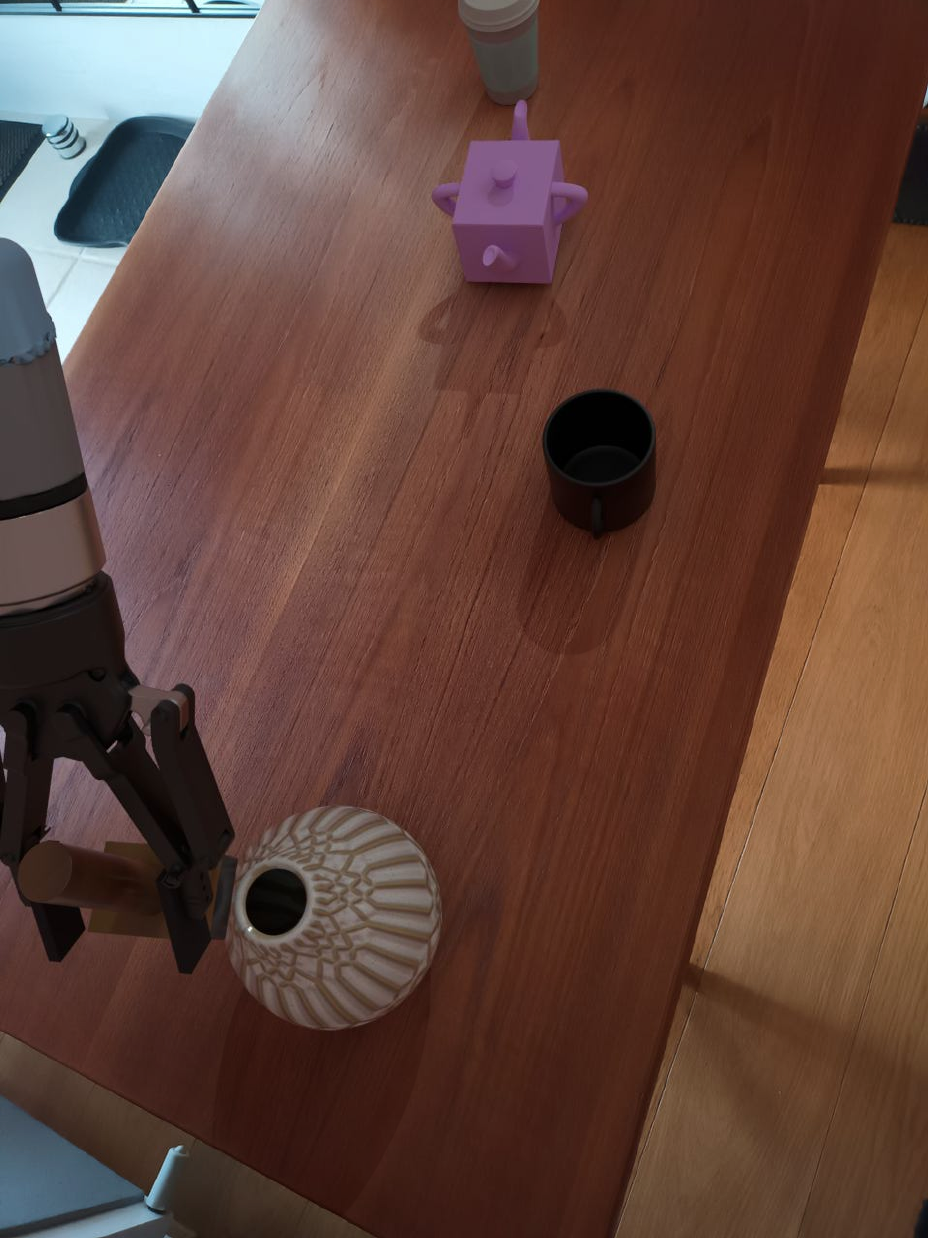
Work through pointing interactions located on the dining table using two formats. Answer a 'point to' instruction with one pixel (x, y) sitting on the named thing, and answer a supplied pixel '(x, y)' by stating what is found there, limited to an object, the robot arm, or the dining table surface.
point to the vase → (333, 917)
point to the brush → (116, 886)
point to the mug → (601, 459)
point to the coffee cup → (504, 45)
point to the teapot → (510, 207)
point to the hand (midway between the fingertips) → (130, 950)
